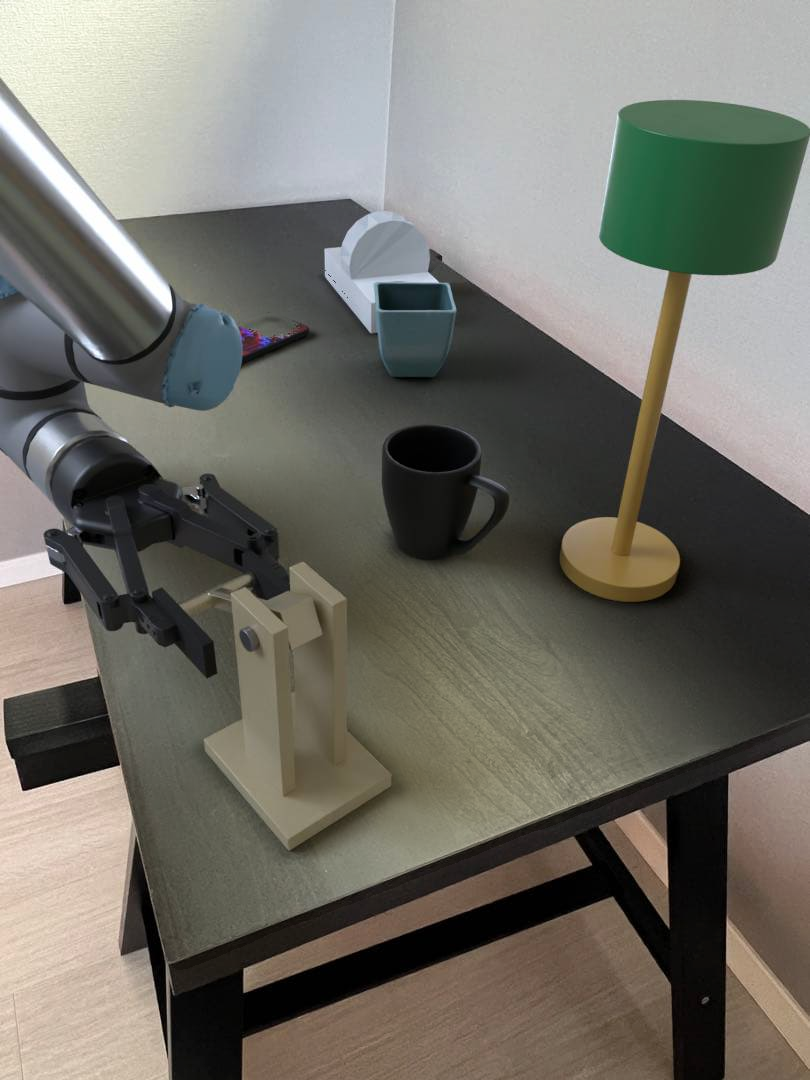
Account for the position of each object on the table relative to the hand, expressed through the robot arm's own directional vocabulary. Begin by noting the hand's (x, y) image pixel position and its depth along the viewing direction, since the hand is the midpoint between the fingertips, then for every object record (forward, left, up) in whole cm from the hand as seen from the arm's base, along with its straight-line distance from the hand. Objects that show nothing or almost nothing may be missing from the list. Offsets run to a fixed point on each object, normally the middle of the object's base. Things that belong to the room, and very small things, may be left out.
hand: (256, 637), depth 60 cm
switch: (0, 0, +1) cm, 1 cm away
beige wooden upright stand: (+4, -1, -9) cm, 10 cm away
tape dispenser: (-31, +72, -9) cm, 79 cm away
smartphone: (-38, +50, -9) cm, 63 cm away
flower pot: (-18, +55, -9) cm, 59 cm away
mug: (+1, +25, -9) cm, 27 cm away
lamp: (+15, +31, -9) cm, 36 cm away
